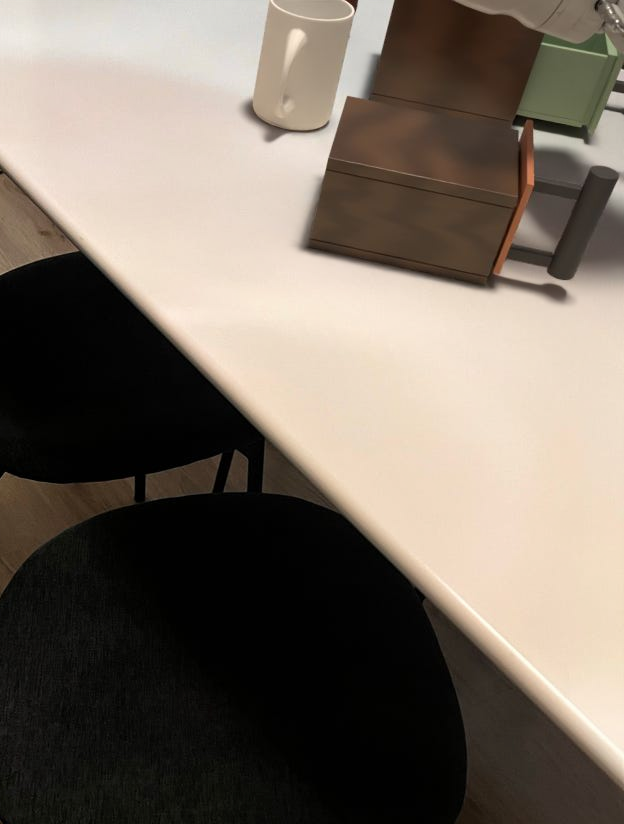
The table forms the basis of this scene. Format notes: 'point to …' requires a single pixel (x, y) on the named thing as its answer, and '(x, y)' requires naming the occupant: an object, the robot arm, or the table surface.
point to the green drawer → (572, 81)
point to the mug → (301, 62)
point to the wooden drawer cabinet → (455, 61)
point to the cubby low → (417, 190)
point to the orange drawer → (579, 222)
